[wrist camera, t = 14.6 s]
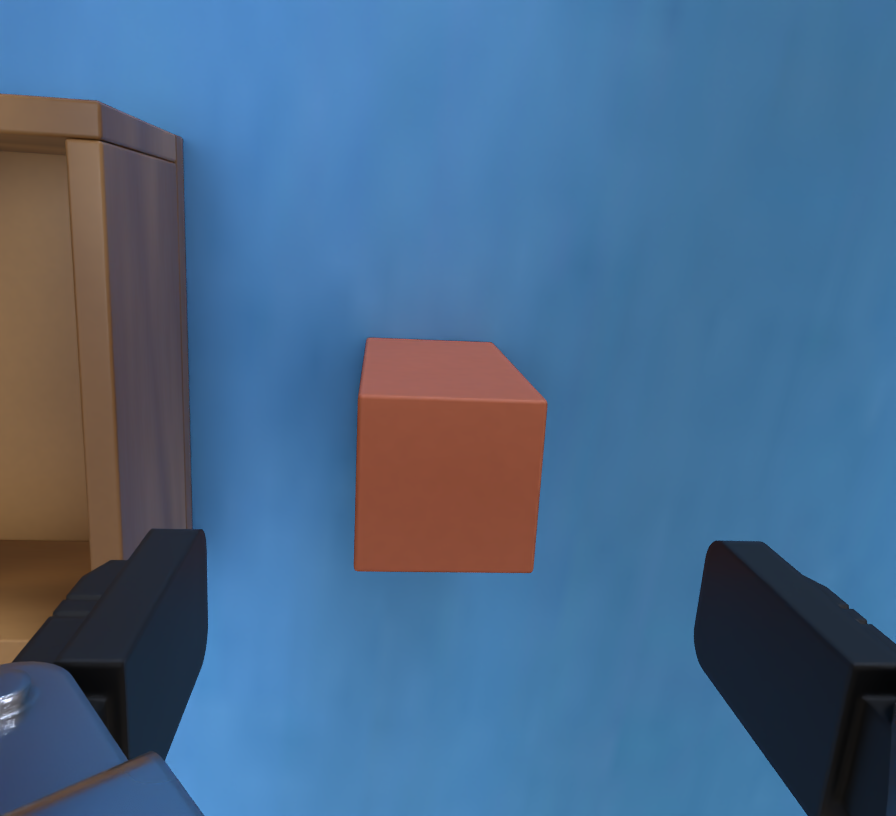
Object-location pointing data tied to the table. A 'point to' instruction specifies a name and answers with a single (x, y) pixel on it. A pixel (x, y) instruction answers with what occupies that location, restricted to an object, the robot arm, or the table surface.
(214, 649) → the table surface
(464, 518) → the block
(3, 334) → the chest
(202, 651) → the robot arm
